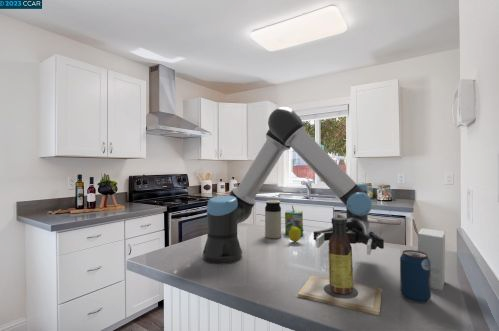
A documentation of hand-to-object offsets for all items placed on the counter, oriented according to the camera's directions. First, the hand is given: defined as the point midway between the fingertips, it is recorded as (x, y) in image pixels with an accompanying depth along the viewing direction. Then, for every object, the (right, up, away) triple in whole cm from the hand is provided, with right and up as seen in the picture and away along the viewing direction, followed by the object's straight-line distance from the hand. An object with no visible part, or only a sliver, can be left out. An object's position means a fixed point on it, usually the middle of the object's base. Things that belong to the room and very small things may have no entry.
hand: (341, 246), depth 76 cm
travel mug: (-14, -14, +61) cm, 64 cm away
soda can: (+19, -13, -3) cm, 23 cm away
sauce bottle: (-1, -12, -1) cm, 12 cm away
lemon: (-5, -14, +51) cm, 53 cm away
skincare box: (+29, -13, +6) cm, 33 cm away
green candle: (-2, -14, +68) cm, 70 cm away
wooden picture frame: (-1, -13, -1) cm, 13 cm away
